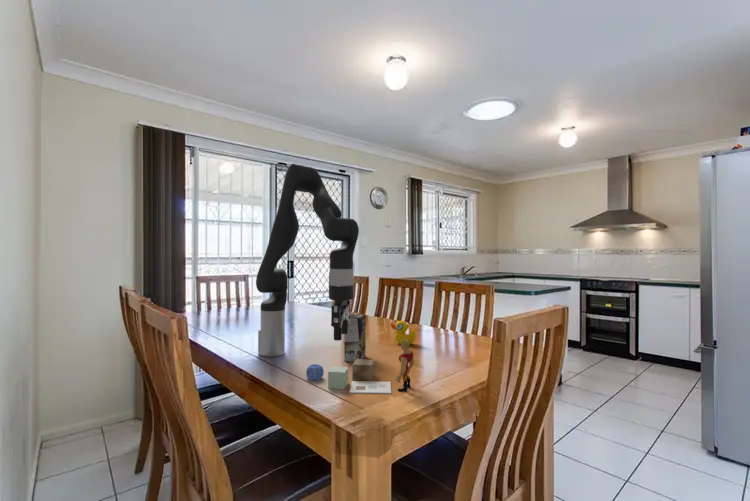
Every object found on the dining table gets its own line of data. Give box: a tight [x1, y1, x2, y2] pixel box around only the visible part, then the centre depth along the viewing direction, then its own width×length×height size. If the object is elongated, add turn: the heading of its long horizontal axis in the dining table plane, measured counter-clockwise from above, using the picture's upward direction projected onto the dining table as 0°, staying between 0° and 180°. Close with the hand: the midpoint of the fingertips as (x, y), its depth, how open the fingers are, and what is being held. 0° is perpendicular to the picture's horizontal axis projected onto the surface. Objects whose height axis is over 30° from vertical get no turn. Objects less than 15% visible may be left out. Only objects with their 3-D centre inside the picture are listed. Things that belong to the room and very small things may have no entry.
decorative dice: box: [305, 363, 324, 381], centre depth 123 cm, size 4×4×4 cm
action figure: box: [395, 338, 415, 392], centre depth 115 cm, size 10×4×15 cm, turn 156°
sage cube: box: [327, 366, 349, 390], centre depth 117 cm, size 5×5×5 cm
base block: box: [351, 358, 375, 382], centre depth 125 cm, size 6×6×5 cm
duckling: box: [390, 320, 417, 345], centre depth 169 cm, size 11×5×10 cm, turn 70°
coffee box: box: [343, 313, 367, 363], centre depth 146 cm, size 9×6×16 cm
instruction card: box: [349, 380, 392, 395], centre depth 115 cm, size 12×9×1 cm
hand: (341, 336), depth 117 cm, fingers open, 8 cm apart
